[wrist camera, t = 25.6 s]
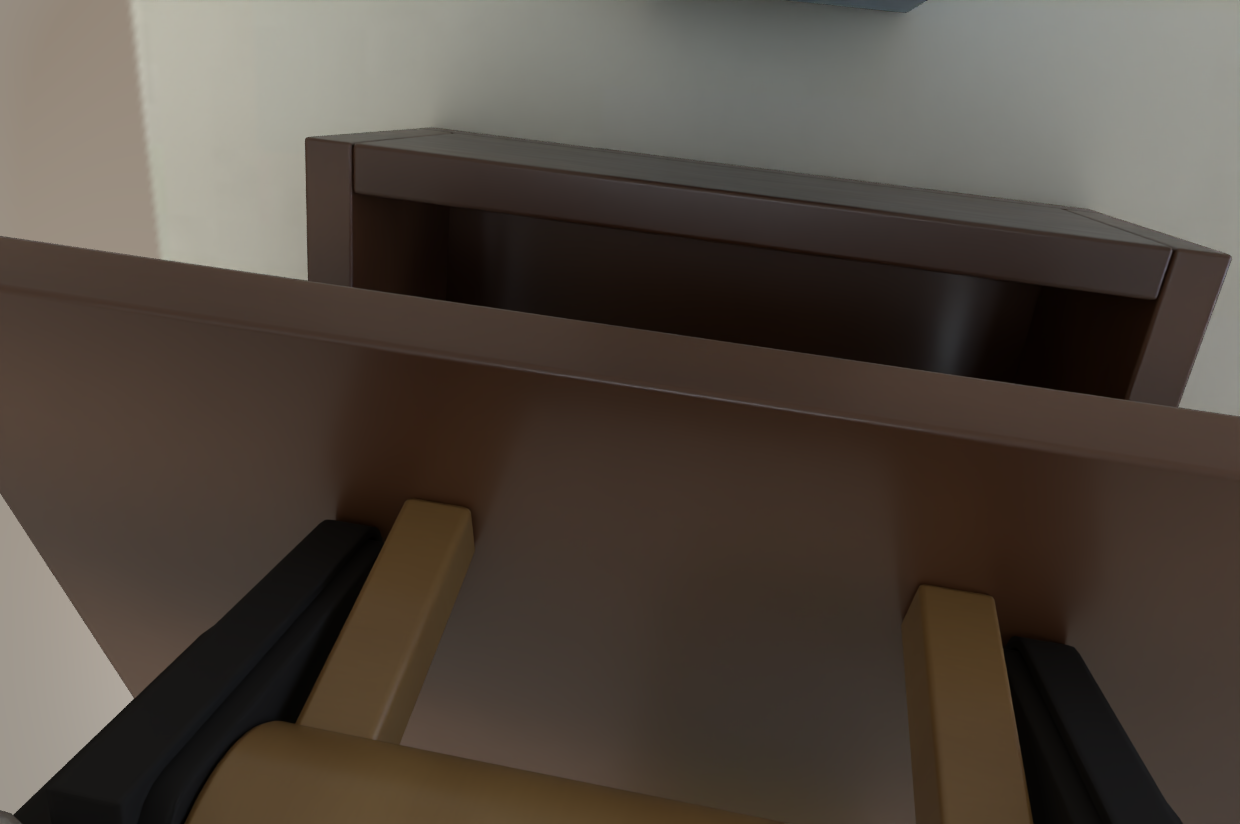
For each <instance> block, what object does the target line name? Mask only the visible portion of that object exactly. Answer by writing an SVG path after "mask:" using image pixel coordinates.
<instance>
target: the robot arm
mask: <svg viewBox="0 0 1240 824" xmlns="http://www.w3.org/2000/svg"><path fill="white" fill-rule="evenodd" d="M384 543H385V542H382V537H381V533H380V531H379V530H378V528H377V527H372V526H366V525H360V524H354V523H348V522H342V521H336V520H324V521H322V522H321V523H320V524H318V525H317V526H316V527H315V528H314V529H313V530H312V531H311V532H310V533H309V534H308V535H307V536H306V537H305V538H304V539H303V540H302V541H301V542H300V543H299V544H298V545H297V546H296V547H295V548H294V549H293V550H292V551H291V552H290V553H288V554H287V555H286V556H285V557H284V558H283V559H282V560H281V561H280V562H279V563H278V564H277V565H276V566H275V567H274V568H273V569H272V570H271V571H270V572H269V573H268V574H267V575H266V576H265V577H264V578H263V579H262V580H261V581H260V582H258V583H257V584H256V585H255V586H254V587H253V588H252V589H251V590H250V591H249V592H248V593H247V594H246V595H245V596H244V597H243V598H242V599H241V600H240V601H239V602H238V603H237V604H236V605H235V606H234V607H233V608H232V609H231V610H230V611H229V612H227V613H226V614H225V615H224V616H223V617H222V618H221V619H220V620H219V621H218V622H217V623H216V624H215V625H214V626H212V627H211V628H209V629H208V630H207V631H205V632H204V633H203V634H201V635H200V636H199V637H198V638H197V639H196V640H195V641H194V642H193V643H192V644H191V645H190V646H189V647H188V648H187V649H185V650H184V651H183V652H182V653H181V654H180V655H179V656H178V657H177V658H176V659H175V660H174V661H173V662H172V663H171V664H170V665H169V666H168V667H167V668H166V669H165V670H164V671H163V672H162V673H160V674H159V675H158V676H157V677H156V678H155V679H154V680H153V681H152V682H151V683H150V684H149V685H148V686H147V687H146V688H145V689H144V690H143V691H142V692H141V693H140V694H139V695H138V696H137V697H136V698H134V699H133V700H132V701H131V703H129V704H128V705H127V706H126V707H125V708H124V709H123V710H122V711H121V712H120V713H119V714H118V715H117V716H116V717H115V718H114V719H113V720H112V721H111V722H110V723H108V724H107V725H106V726H105V727H104V728H103V729H102V730H101V731H100V732H99V733H98V734H97V735H96V736H95V737H94V738H93V739H92V740H91V741H90V742H89V743H88V744H87V745H86V746H85V747H83V748H82V749H81V750H80V751H79V752H78V753H77V754H76V755H75V756H74V757H73V758H72V759H71V760H70V761H69V762H68V763H67V764H66V765H65V766H64V767H63V768H62V769H61V770H60V771H58V772H57V773H56V774H55V775H54V776H53V777H52V778H51V779H50V780H49V781H48V782H47V783H46V784H45V785H44V786H43V787H42V788H41V789H40V790H39V791H38V792H37V793H36V794H35V795H34V796H32V797H31V799H29V800H28V801H27V802H26V803H25V804H24V805H23V806H22V807H21V808H20V809H19V810H18V811H17V812H16V813H15V814H14V815H12V814H11V813H8V812H5V811H1V810H0V824H184V823H185V821H186V819H187V817H188V815H189V812H190V810H191V808H192V807H193V805H194V803H195V801H196V799H197V797H198V795H199V793H200V791H201V790H202V788H203V786H204V785H205V783H206V781H207V779H208V778H209V776H210V775H211V773H212V772H213V770H214V769H215V767H216V766H217V764H218V763H219V762H220V760H221V759H222V758H223V756H224V755H225V754H226V752H227V751H228V750H229V749H230V748H231V747H232V746H233V745H234V743H235V742H236V741H237V740H238V739H240V738H241V737H242V736H243V735H244V734H245V733H246V732H248V731H249V730H251V729H252V728H253V727H255V726H258V725H260V724H262V723H267V722H271V721H284V722H289V723H294V724H295V723H296V721H297V719H298V717H299V715H300V713H301V711H302V709H303V707H304V705H305V703H306V701H307V699H308V697H309V695H310V693H311V691H312V689H313V687H314V685H315V683H316V680H317V678H318V676H319V674H320V672H321V670H322V668H323V666H324V664H325V662H326V660H327V658H328V656H329V654H330V652H331V650H332V648H333V646H334V644H335V642H336V640H337V638H338V636H339V634H340V632H341V630H342V628H343V626H344V624H345V622H346V620H347V618H348V616H349V614H350V612H351V610H352V608H353V606H354V604H355V602H356V600H357V598H358V596H359V594H360V591H361V589H362V587H363V585H364V583H365V581H366V579H367V577H368V575H369V573H370V571H371V569H372V567H373V565H374V563H375V561H376V559H377V557H378V555H379V553H380V551H381V549H382V547H383V545H384ZM1003 651H1004V657H1005V663H1006V669H1007V674H1008V680H1009V686H1010V692H1011V697H1012V703H1013V709H1014V714H1015V720H1016V726H1017V732H1018V737H1019V743H1020V749H1021V755H1022V760H1023V766H1024V772H1025V777H1026V783H1027V789H1028V795H1029V800H1030V806H1031V812H1032V818H1033V823H1034V824H1183V823H1182V821H1181V820H1180V818H1179V817H1178V815H1177V814H1176V813H1175V812H1174V810H1173V809H1172V808H1171V806H1170V805H1169V804H1168V803H1167V801H1166V800H1165V798H1164V796H1163V795H1162V793H1161V791H1160V790H1159V788H1158V786H1157V784H1156V783H1155V781H1154V779H1153V778H1152V776H1151V774H1150V773H1149V771H1148V769H1147V767H1146V766H1145V764H1144V762H1143V761H1142V759H1141V757H1140V756H1139V754H1138V752H1137V750H1136V749H1135V747H1134V745H1133V744H1132V742H1131V740H1130V739H1129V737H1128V735H1127V733H1126V732H1125V730H1124V728H1123V727H1122V725H1121V723H1120V721H1119V720H1118V718H1117V716H1116V715H1115V713H1114V711H1113V710H1112V708H1111V706H1110V704H1109V703H1108V701H1107V699H1106V698H1105V696H1104V694H1103V693H1102V691H1101V689H1100V687H1099V686H1098V684H1097V682H1096V681H1095V679H1094V677H1093V676H1092V674H1091V672H1090V670H1089V669H1088V667H1087V665H1086V664H1085V662H1084V660H1083V658H1082V657H1081V655H1080V653H1079V652H1078V651H1077V650H1076V649H1075V647H1072V646H1069V645H1065V644H1059V643H1053V642H1047V641H1041V640H1035V639H1029V638H1024V637H1018V636H1013V637H1011V638H1010V640H1009V641H1008V643H1007V644H1006V646H1005V648H1004V649H1003Z"/></svg>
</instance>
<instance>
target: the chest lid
mask: <svg viewBox="0 0 1240 824" xmlns="http://www.w3.org/2000/svg"><path fill="white" fill-rule="evenodd" d="M0 494H1V495H2V497H3V498H4V499H5V501H6V503H7V504H8V506H9V507H10V509H11V510H12V512H13V513H14V515H15V516H16V518H17V519H18V521H19V523H20V524H21V526H22V527H23V529H24V530H25V532H26V533H27V535H28V536H29V538H30V540H31V541H32V543H33V544H34V546H35V547H36V549H37V550H38V552H39V553H40V555H41V556H42V558H43V559H44V561H45V562H46V564H47V566H48V567H49V569H50V570H51V572H52V573H53V575H54V576H55V577H56V579H57V581H58V582H59V584H60V585H61V587H62V588H63V590H64V591H65V593H66V595H67V596H68V597H69V599H70V601H71V602H72V604H73V605H74V607H75V608H76V610H77V611H78V613H79V615H80V616H81V618H82V619H83V621H84V622H85V624H86V625H87V627H88V628H89V630H90V631H91V633H92V635H93V636H94V638H95V639H96V641H97V642H98V644H99V645H100V647H101V648H102V650H103V651H104V653H105V654H106V656H107V658H108V659H109V660H110V662H111V664H112V665H113V666H114V668H115V670H116V671H117V672H118V674H119V676H120V677H121V679H122V680H123V682H124V683H125V685H126V687H127V688H128V690H129V691H130V693H131V694H132V696H133V697H134V698H136V697H137V696H138V695H139V694H140V693H141V692H142V691H143V690H144V689H145V688H146V687H147V686H148V685H149V684H150V683H151V682H152V681H153V680H154V679H155V678H156V677H157V676H158V675H159V674H160V673H162V672H163V671H164V670H165V669H166V668H167V667H168V666H169V665H170V664H171V663H172V662H173V661H174V660H175V659H176V658H177V657H178V656H179V655H180V654H181V653H182V652H183V651H184V650H185V649H187V648H188V647H189V646H190V645H191V644H192V643H193V642H194V641H195V640H196V639H197V638H198V637H199V636H200V635H201V634H203V633H204V632H205V631H207V630H208V629H209V628H211V627H212V626H214V625H215V624H216V623H217V622H218V621H219V620H220V619H221V618H222V617H223V616H224V615H225V614H226V613H227V612H229V611H230V610H231V609H232V608H233V607H234V606H235V605H236V604H237V603H238V602H239V601H240V600H241V599H242V598H243V597H244V596H245V595H246V594H247V593H248V592H249V591H250V590H251V589H252V588H253V587H254V586H255V585H256V584H257V583H258V582H260V581H261V580H262V579H263V578H264V577H265V576H266V575H267V574H268V573H269V572H270V571H271V570H272V569H273V568H274V567H275V566H276V565H277V564H278V563H279V562H280V561H281V560H282V559H283V558H284V557H285V556H286V555H287V554H288V553H290V552H291V551H292V550H293V549H294V548H295V547H296V546H297V545H298V544H299V543H300V542H301V541H302V540H303V539H304V538H305V537H306V536H307V535H308V534H309V533H310V532H311V531H312V530H313V529H314V528H315V527H316V526H317V525H318V524H320V523H321V522H322V521H324V520H336V521H342V522H348V523H354V524H360V525H366V526H372V527H377V528H378V530H379V531H380V533H381V537H382V542H385V543H384V545H383V547H382V549H381V551H380V553H379V555H378V557H377V559H376V561H375V563H374V565H373V567H372V569H371V571H370V573H369V575H368V577H367V579H366V581H365V583H364V585H363V587H362V589H361V591H360V594H359V596H358V598H357V600H356V602H355V604H354V606H353V608H352V610H351V612H350V614H349V616H348V618H347V620H346V622H345V624H344V626H343V628H342V630H341V632H340V634H339V636H338V638H337V640H336V642H335V644H334V646H333V648H332V650H331V652H330V654H329V656H328V658H327V660H326V662H325V664H324V666H323V668H322V670H321V672H320V674H319V676H318V678H317V680H316V683H315V685H314V687H313V689H312V691H311V693H310V695H309V697H308V699H307V701H306V703H305V705H304V707H303V709H302V711H301V713H300V715H299V717H298V719H297V721H296V723H295V724H294V723H289V722H284V721H271V722H267V723H262V724H260V725H258V726H255V727H253V728H252V729H251V730H249V731H248V732H246V733H245V734H244V735H243V736H242V737H241V738H240V739H238V740H237V741H236V742H235V743H234V745H233V746H232V747H231V748H230V749H229V750H228V751H227V752H226V754H225V755H224V756H223V758H222V759H221V760H220V762H219V763H218V764H217V766H216V767H215V769H214V770H213V772H212V773H211V775H210V776H209V778H208V779H207V781H206V783H205V785H204V786H203V788H202V790H201V791H200V793H199V795H198V797H197V799H196V801H195V803H194V805H193V807H192V808H191V810H190V812H189V815H188V817H187V819H186V821H185V823H184V824H1034V823H1033V818H1032V812H1031V806H1030V800H1029V795H1028V789H1027V783H1026V777H1025V772H1024V766H1023V760H1022V755H1021V749H1020V743H1019V737H1018V732H1017V726H1016V720H1015V714H1014V709H1013V703H1012V697H1011V692H1010V686H1009V680H1008V674H1007V669H1006V663H1005V657H1004V651H1003V649H1004V648H1005V646H1006V644H1007V643H1008V641H1009V640H1010V638H1011V637H1013V636H1018V637H1024V638H1029V639H1035V640H1041V641H1047V642H1053V643H1059V644H1065V645H1069V646H1072V647H1075V649H1076V650H1077V651H1078V652H1079V653H1080V655H1081V657H1082V658H1083V660H1084V662H1085V664H1086V665H1087V667H1088V669H1089V670H1090V672H1091V674H1092V676H1093V677H1094V679H1095V681H1096V682H1097V684H1098V686H1099V687H1100V689H1101V691H1102V693H1103V694H1104V696H1105V698H1106V699H1107V701H1108V703H1109V704H1110V706H1111V708H1112V710H1113V711H1114V713H1115V715H1116V716H1117V718H1118V720H1119V721H1120V723H1121V725H1122V727H1123V728H1124V730H1125V732H1126V733H1127V735H1128V737H1129V739H1130V740H1131V742H1132V744H1133V745H1134V747H1135V749H1136V750H1137V752H1138V754H1139V756H1140V757H1141V759H1142V761H1143V762H1144V764H1145V766H1146V767H1147V769H1148V771H1149V773H1150V774H1151V776H1152V778H1153V779H1154V781H1155V783H1156V784H1157V786H1158V788H1159V790H1160V791H1161V793H1162V795H1163V796H1164V798H1165V800H1166V801H1167V803H1168V804H1169V805H1170V806H1171V808H1172V809H1173V810H1174V812H1175V813H1176V814H1177V815H1178V817H1179V818H1180V820H1181V821H1182V823H1183V824H1240V416H1233V415H1226V414H1219V413H1212V412H1206V411H1199V410H1192V409H1185V408H1178V407H1171V406H1164V405H1158V404H1151V403H1144V402H1137V401H1130V400H1123V399H1116V398H1109V397H1103V396H1096V395H1089V394H1082V393H1075V392H1068V391H1061V390H1054V389H1048V388H1041V387H1034V386H1027V385H1020V384H1013V383H1006V382H999V381H993V380H986V379H979V378H972V377H965V376H958V375H951V374H945V373H938V372H931V371H924V370H917V369H910V368H903V367H896V366H890V365H883V364H876V363H869V362H862V361H855V360H848V359H841V358H835V357H828V356H821V355H814V354H807V353H800V352H793V351H786V350H780V349H773V348H766V347H759V346H752V345H745V344H738V343H732V342H725V341H718V340H711V339H704V338H697V337H690V336H683V335H677V334H670V333H663V332H656V331H649V330H642V329H635V328H628V327H622V326H615V325H608V324H601V323H594V322H587V321H580V320H573V319H567V318H560V317H553V316H546V315H539V314H532V313H525V312H519V311H512V310H505V309H498V308H491V307H484V306H477V305H470V304H464V303H457V302H450V301H443V300H436V299H429V298H422V297H415V296H409V295H402V294H395V293H388V292H381V291H374V290H367V289H360V288H354V287H347V286H340V285H333V284H326V283H319V282H312V281H306V280H299V279H292V278H285V277H278V276H271V275H264V274H257V273H251V272H244V271H237V270H230V269H223V268H216V267H209V266H202V265H196V264H189V263H182V262H175V261H168V260H161V259H154V258H147V257H141V256H133V255H127V254H120V253H113V252H106V251H99V250H93V249H85V248H79V247H72V246H64V245H58V244H51V243H44V242H38V241H30V240H24V239H17V238H10V237H3V236H0Z"/></svg>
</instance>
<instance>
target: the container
mask: <svg viewBox="0 0 1240 824" xmlns="http://www.w3.org/2000/svg"><path fill="white" fill-rule="evenodd" d="M788 1H798V2H807V3H817V4H826V5H836V6H846V7H855V8H865V9H874V10H884V11H893V12H903V13H906V12H909V11H910V10H912V9H914V8H915V7H917V6H919V5H921V4H922V3H924V2H926V1H927V0H788Z"/></svg>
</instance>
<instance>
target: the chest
mask: <svg viewBox="0 0 1240 824" xmlns="http://www.w3.org/2000/svg"><path fill="white" fill-rule="evenodd" d="M305 159H306V208H307V256H308V281H312V282H319V283H326V284H333V285H340V286H347V287H354V288H360V289H367V290H374V291H381V292H388V293H395V294H402V295H409V296H415V297H422V298H429V299H436V300H443V301H450V302H457V303H464V304H470V305H477V306H484V307H491V308H498V309H505V310H512V311H519V312H525V313H532V314H539V315H546V316H553V317H560V318H567V319H573V320H580V321H587V322H594V323H601V324H608V325H615V326H622V327H628V328H635V329H642V330H649V331H656V332H663V333H670V334H677V335H683V336H690V337H697V338H704V339H711V340H718V341H725V342H732V343H738V344H745V345H752V346H759V347H766V348H773V349H780V350H786V351H793V352H800V353H807V354H814V355H821V356H828V357H835V358H841V359H848V360H855V361H862V362H869V363H876V364H883V365H890V366H896V367H903V368H910V369H917V370H924V371H931V372H938V373H945V374H951V375H958V376H965V377H972V378H979V379H986V380H993V381H999V382H1006V383H1013V384H1020V385H1027V386H1034V387H1041V388H1048V389H1054V390H1061V391H1068V392H1075V393H1082V394H1089V395H1096V396H1103V397H1109V398H1116V399H1123V400H1130V401H1137V402H1144V403H1151V404H1158V405H1164V406H1171V407H1178V406H1179V403H1180V400H1181V398H1182V395H1183V392H1184V389H1185V387H1186V384H1187V381H1188V378H1189V376H1190V373H1191V370H1192V367H1193V365H1194V362H1195V359H1196V356H1197V354H1198V351H1199V348H1200V345H1201V343H1202V340H1203V337H1204V334H1205V332H1206V329H1207V326H1208V323H1209V321H1210V318H1211V315H1212V312H1213V310H1214V307H1215V304H1216V301H1217V299H1218V296H1219V293H1220V290H1221V288H1222V285H1223V282H1224V279H1225V277H1226V274H1227V271H1228V268H1229V266H1230V263H1231V260H1232V257H1231V256H1230V255H1229V254H1226V253H1223V252H1220V251H1217V250H1214V249H1211V248H1208V247H1205V246H1201V245H1198V244H1195V243H1192V242H1189V241H1186V240H1183V239H1180V238H1177V237H1173V236H1170V235H1167V234H1164V233H1161V232H1158V231H1155V230H1152V229H1148V228H1145V227H1142V226H1139V225H1136V224H1133V223H1130V222H1127V221H1124V220H1120V219H1117V218H1114V217H1111V216H1108V215H1105V214H1102V213H1099V212H1096V211H1093V210H1090V209H1083V208H1075V207H1067V206H1059V205H1051V204H1043V203H1035V202H1027V201H1019V200H1011V199H1003V198H995V197H987V196H979V195H971V194H962V193H954V192H946V191H938V190H930V189H922V188H914V187H906V186H898V185H890V184H882V183H874V182H866V181H858V180H850V179H842V178H834V177H826V176H818V175H810V174H802V173H794V172H786V171H778V170H769V169H761V168H753V167H745V166H737V165H729V164H721V163H713V162H705V161H697V160H689V159H681V158H673V157H665V156H657V155H649V154H641V153H633V152H625V151H617V150H609V149H601V148H593V147H585V146H577V145H568V144H560V143H552V142H544V141H536V140H528V139H520V138H512V137H504V136H496V135H488V134H480V133H472V132H464V131H456V130H448V129H440V128H432V127H431V128H420V129H406V130H393V131H380V132H366V133H353V134H340V135H327V136H314V137H307V138H306V139H305Z"/></svg>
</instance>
